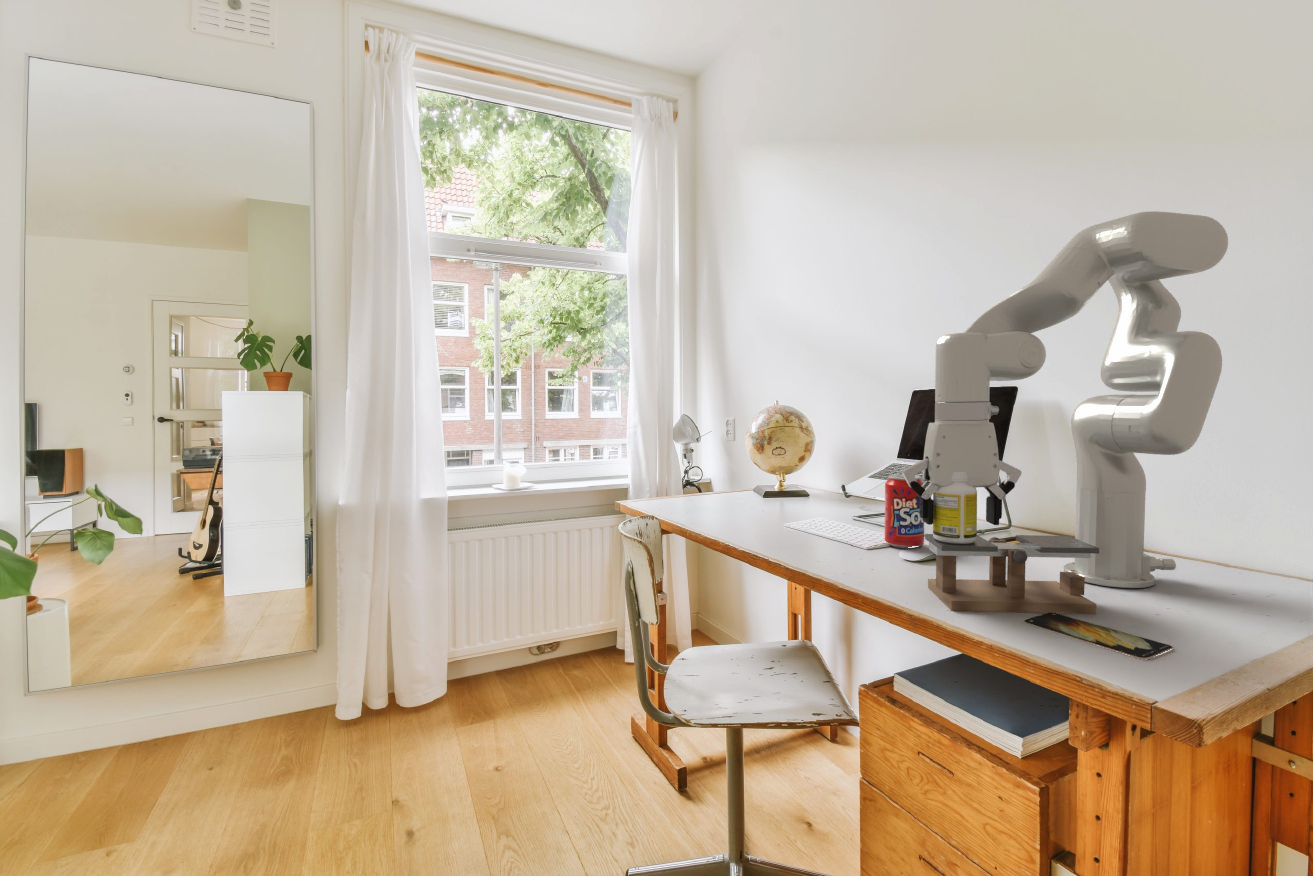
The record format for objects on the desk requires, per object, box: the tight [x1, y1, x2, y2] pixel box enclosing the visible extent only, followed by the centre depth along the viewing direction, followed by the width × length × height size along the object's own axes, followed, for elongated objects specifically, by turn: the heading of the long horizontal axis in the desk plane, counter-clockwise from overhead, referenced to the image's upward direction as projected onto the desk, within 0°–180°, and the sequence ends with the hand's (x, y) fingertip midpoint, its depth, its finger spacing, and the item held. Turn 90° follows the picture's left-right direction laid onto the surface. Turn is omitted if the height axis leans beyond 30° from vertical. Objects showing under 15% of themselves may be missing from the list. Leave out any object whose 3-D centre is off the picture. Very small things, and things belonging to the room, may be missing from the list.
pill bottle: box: [932, 472, 978, 544], centre depth 95 cm, size 6×6×11 cm
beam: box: [924, 533, 1099, 559], centre depth 94 cm, size 22×8×2 cm, turn 83°
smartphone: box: [1023, 613, 1174, 661], centre depth 81 cm, size 7×1×15 cm
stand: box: [927, 536, 1097, 615], centre depth 94 cm, size 20×11×9 cm, turn 83°
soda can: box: [884, 474, 925, 549], centre depth 130 cm, size 8×8×15 cm
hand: (959, 523), depth 95 cm, fingers open, 9 cm apart
